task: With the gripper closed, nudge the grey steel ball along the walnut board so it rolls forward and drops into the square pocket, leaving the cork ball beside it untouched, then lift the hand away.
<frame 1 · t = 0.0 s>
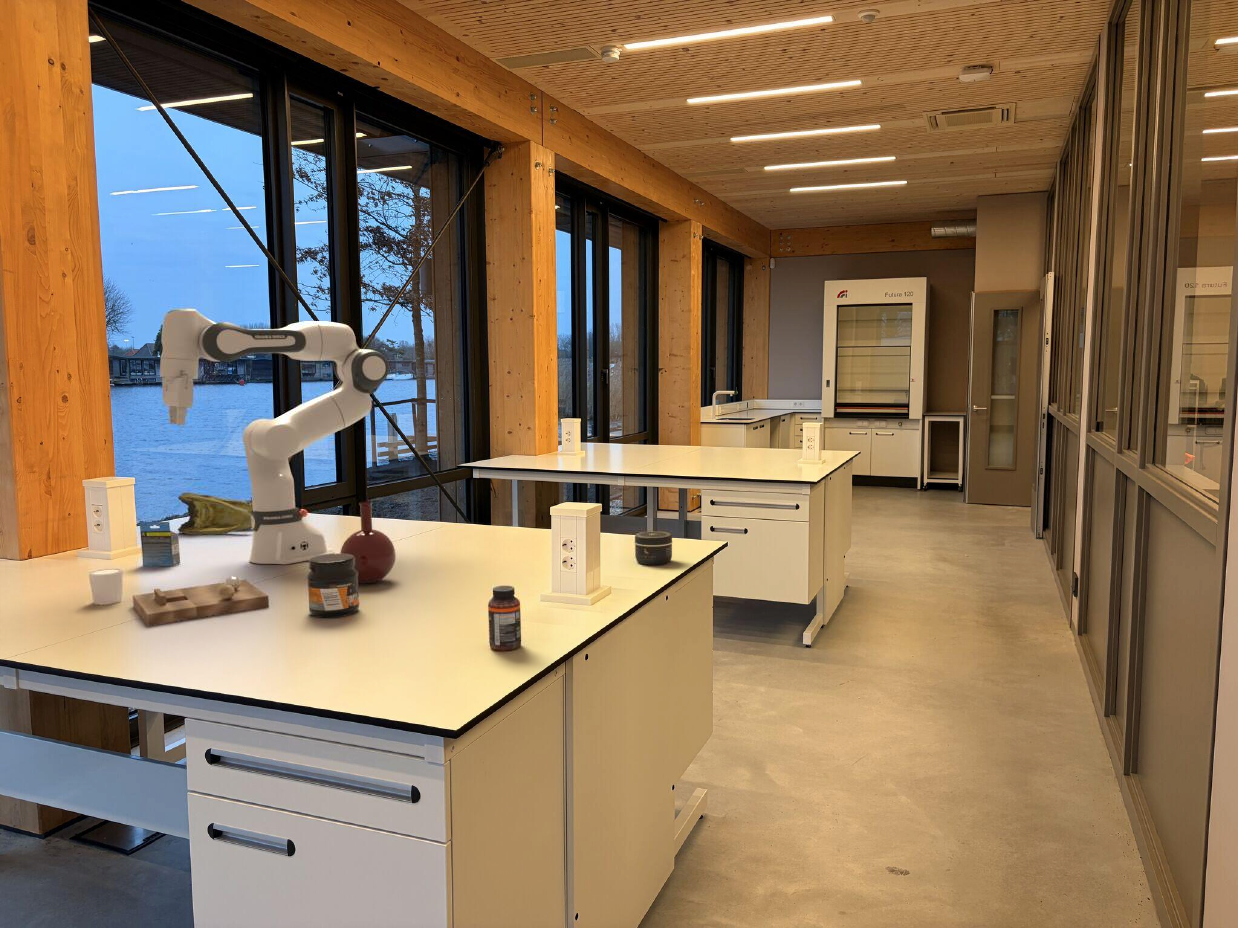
hand: (176, 424, 233), 39 cm above the countertop, tool pointing down, fingers open, 8 cm apart
steel ball: (233, 583, 204), point 4 cm above the countertop, touching board
label tape cartridge: (161, 565, 245), on the countertop
supplement container: (334, 613, 194), on the countertop
jar: (653, 563, 239), on the countertop
round-bottom flask: (369, 583, 221), on the countertop
white cup: (108, 602, 206), on the countertop
board: (200, 606, 200), on the countertop
cork ball: (226, 592, 196), point 4 cm above the countertop, touching board
crocodile head: (224, 532, 296), on the countertop
supplement bottle: (505, 647, 167), on the countertop
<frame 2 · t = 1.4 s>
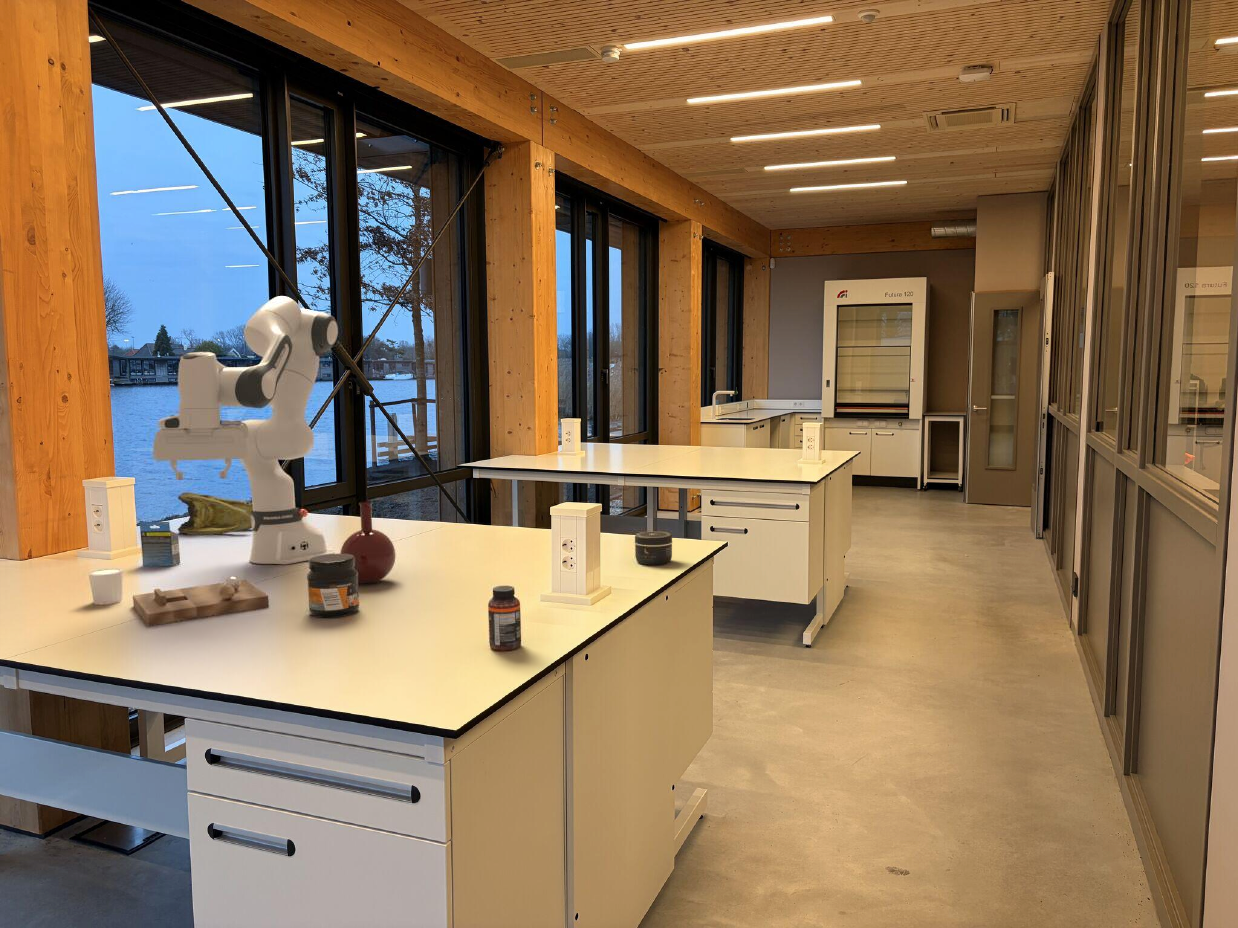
hand: (201, 479, 212), 27 cm above the countertop, tool pointing down, fingers open, 8 cm apart
nothing on the countertop moved.
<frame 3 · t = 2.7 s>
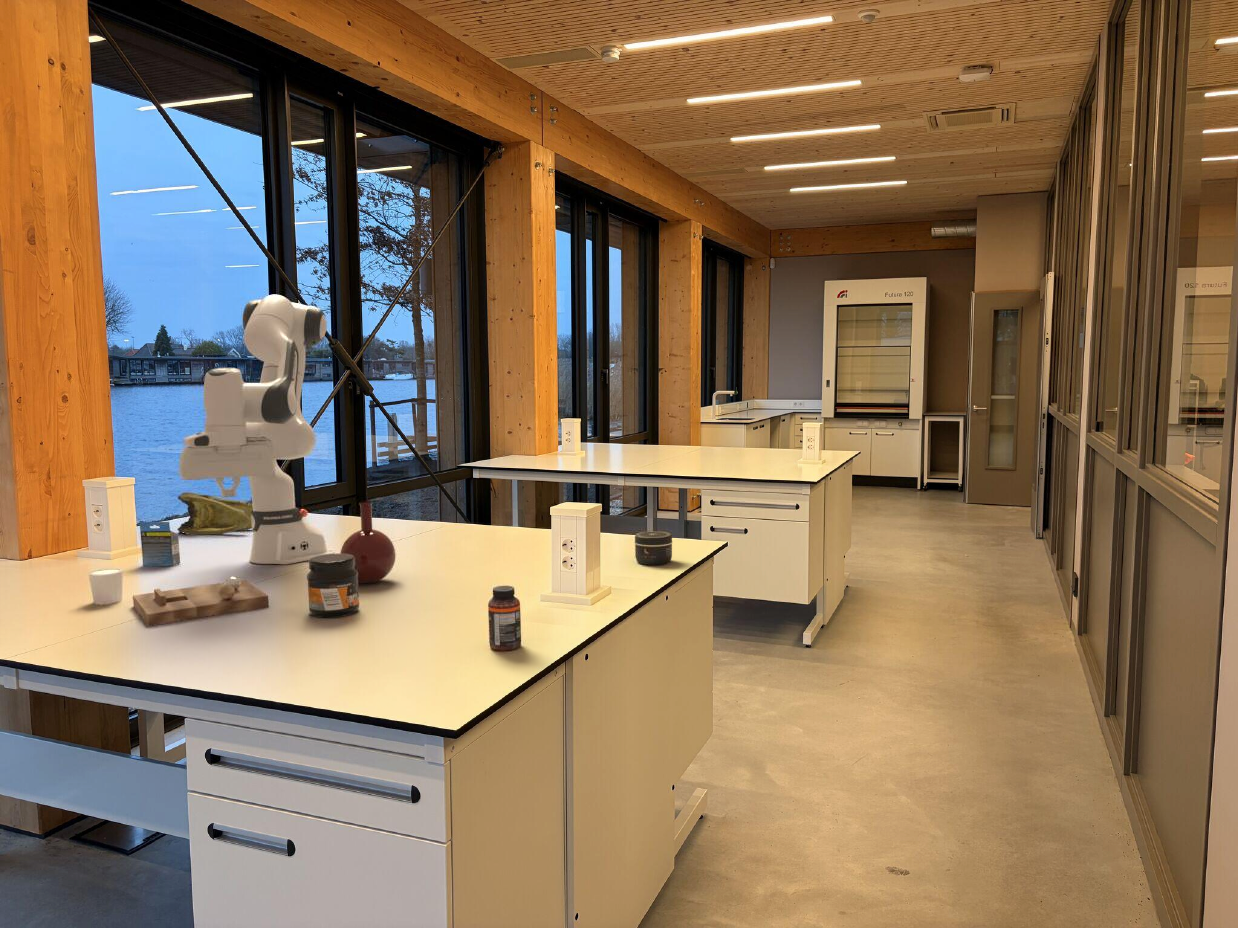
hand: (228, 496, 210), 23 cm above the countertop, tool pointing down, fingers closed
nothing on the countertop moved.
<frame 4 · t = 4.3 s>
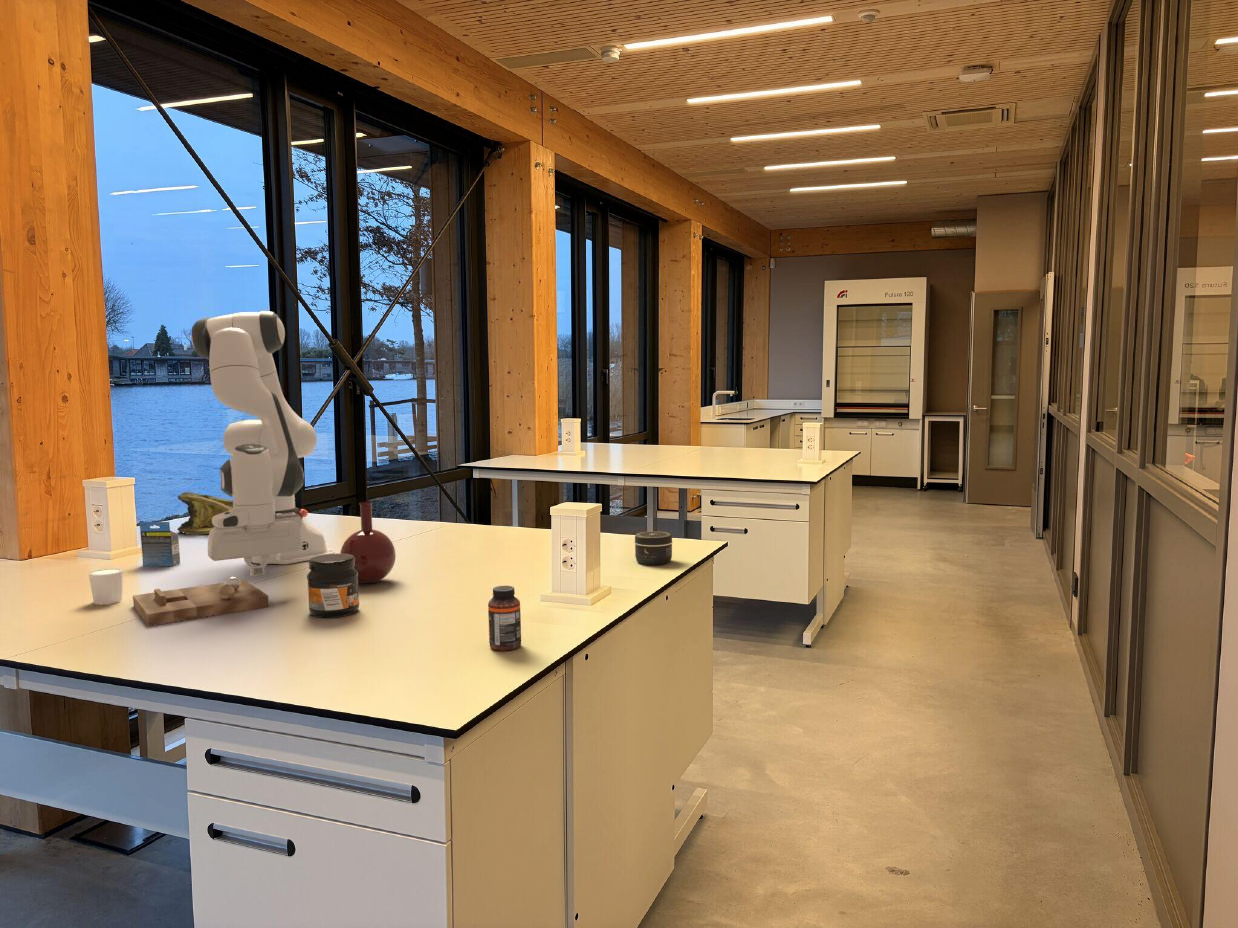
hand: (257, 574, 207), 5 cm above the countertop, tool pointing down, fingers closed
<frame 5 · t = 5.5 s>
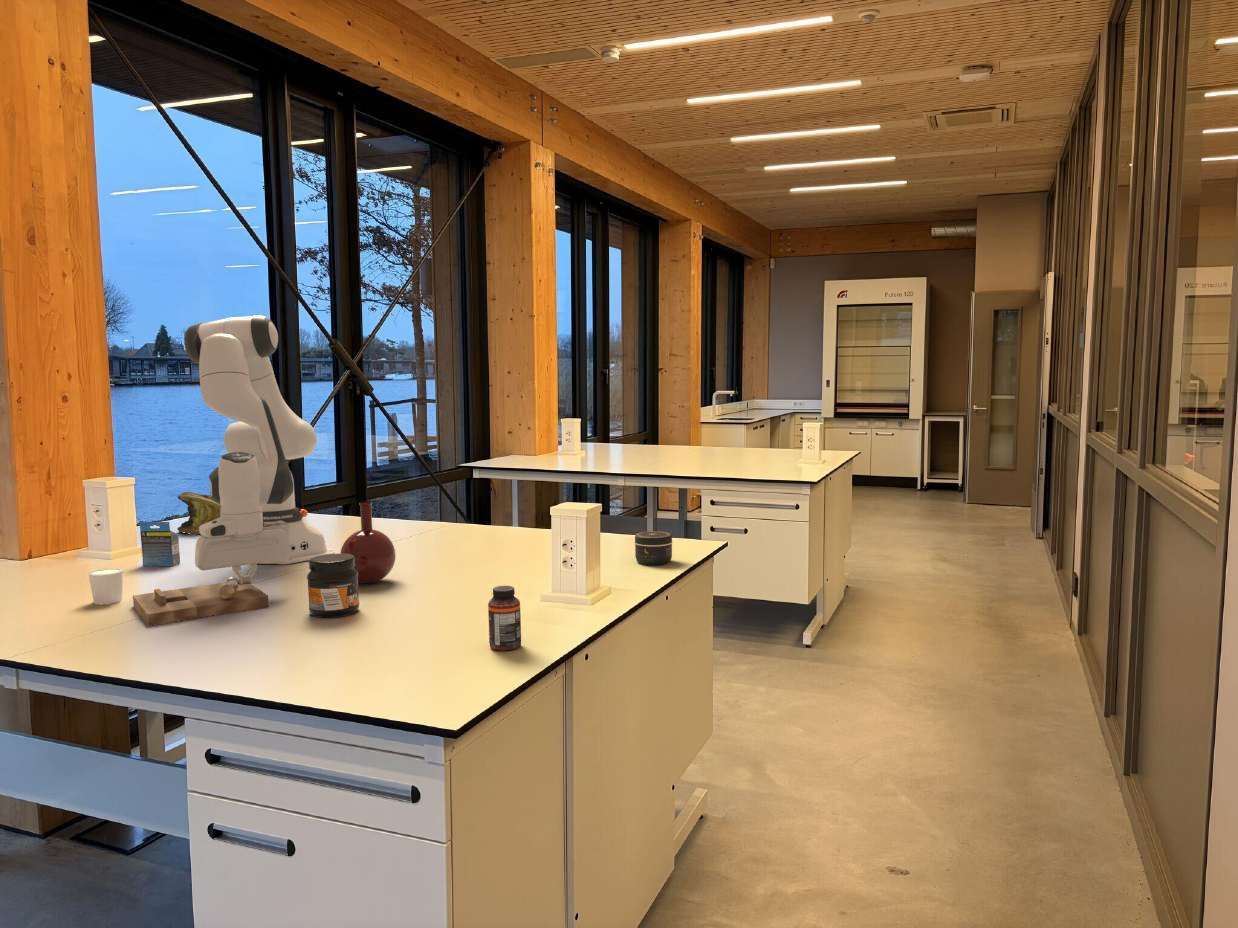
hand: (245, 583, 205), 4 cm above the countertop, tool pointing down, fingers closed
steel ball: (231, 583, 203), point 4 cm above the countertop, tilted 12°, touching board, gripper
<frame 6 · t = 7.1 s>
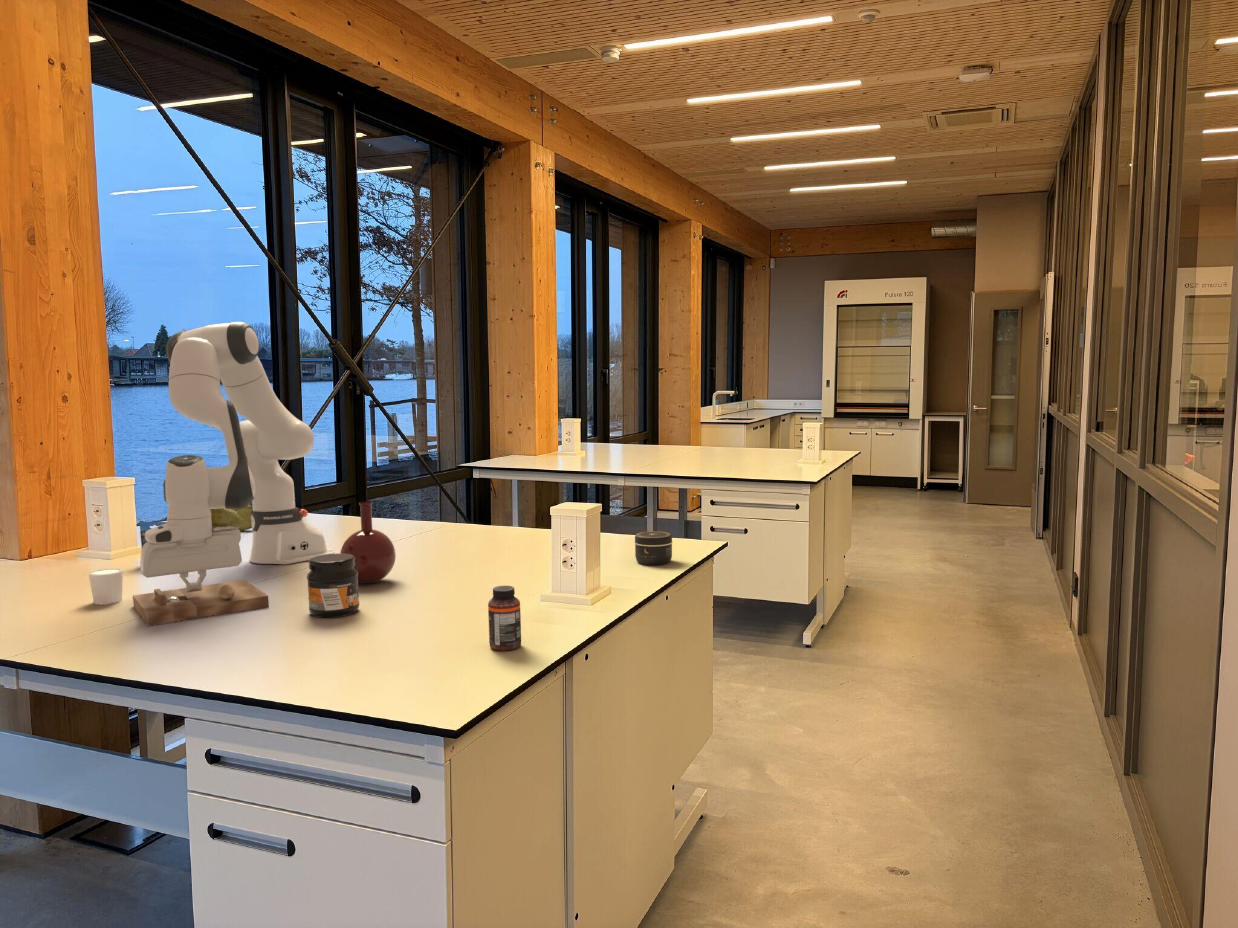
hand: (194, 591, 199), 4 cm above the countertop, tool pointing down, fingers closed
steel ball: (172, 603, 196), point 2 cm above the countertop, tilted 122°
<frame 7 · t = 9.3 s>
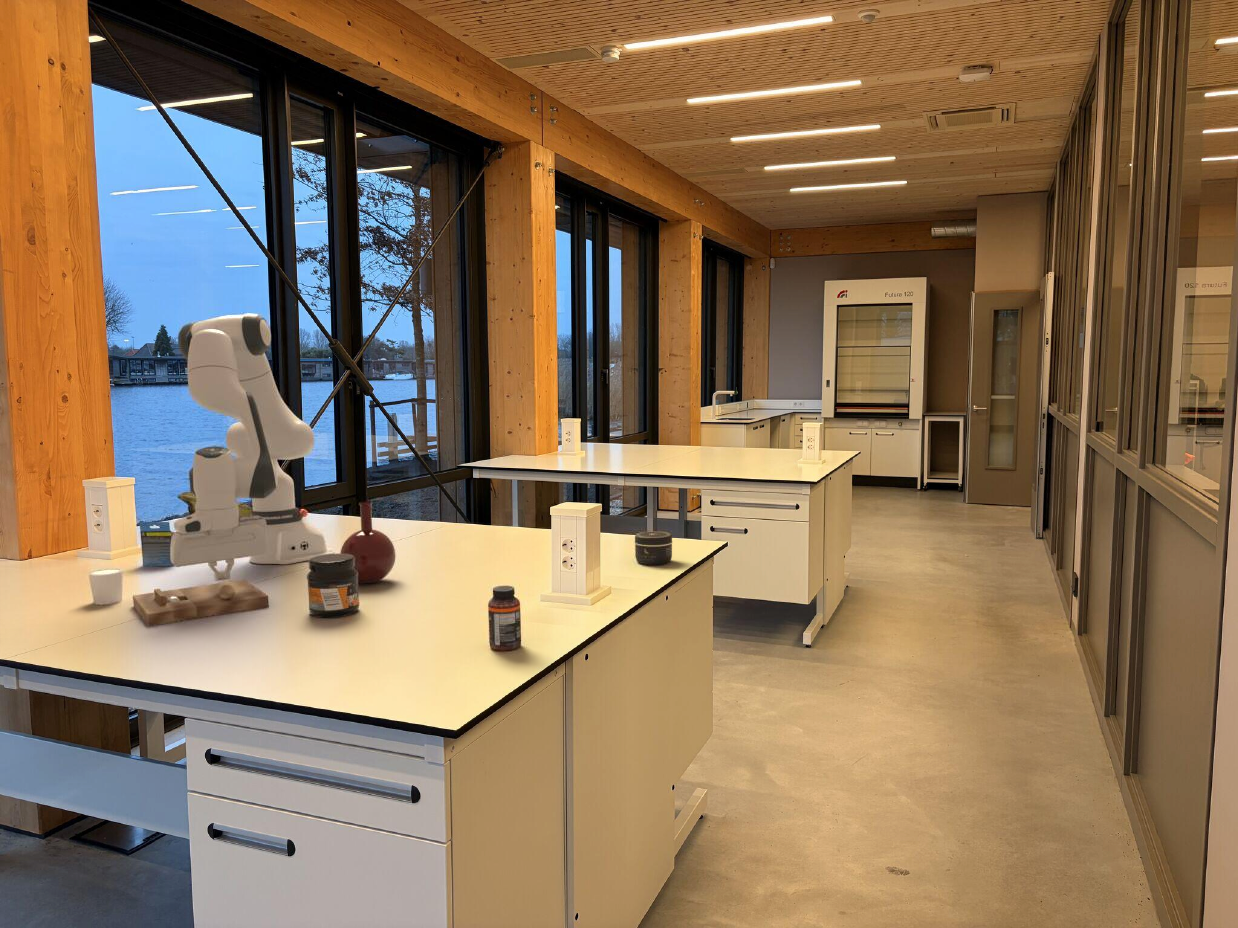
hand: (222, 579, 203), 5 cm above the countertop, tool pointing down, fingers closed
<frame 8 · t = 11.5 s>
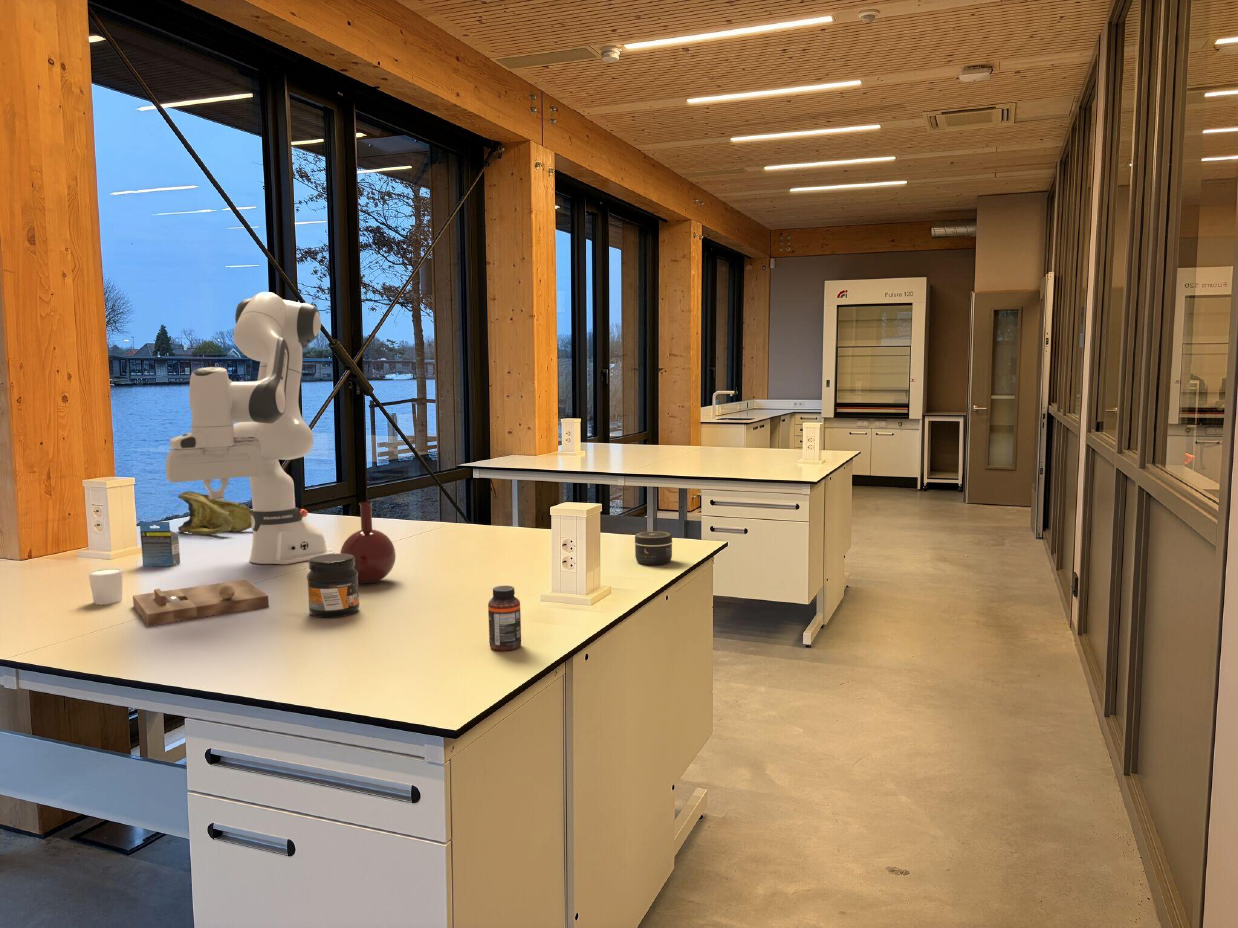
hand: (216, 498, 206), 23 cm above the countertop, tool pointing down, fingers closed
at the end: steel ball 0.6 cm from the target spot on the board, point 1.6 cm above the board's base; cork ball moved 0.0 cm from its start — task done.
